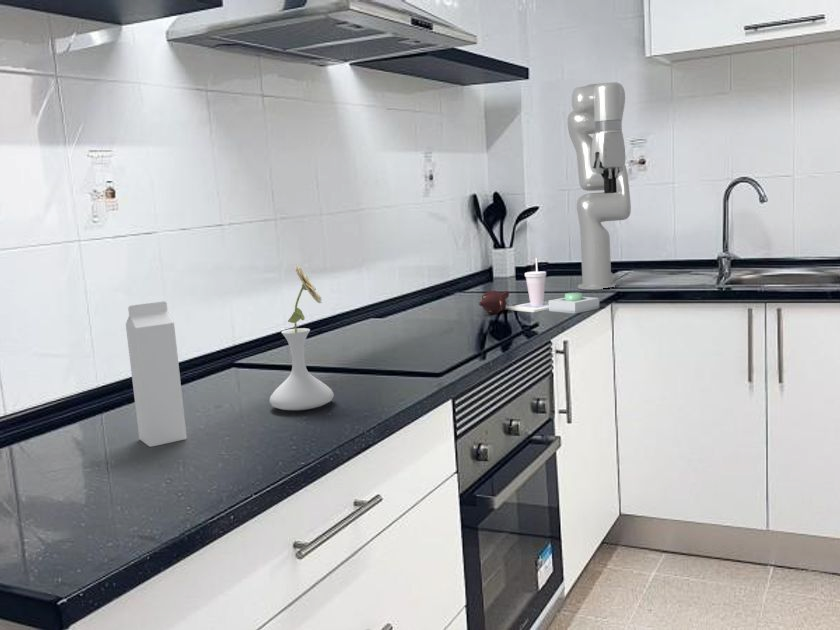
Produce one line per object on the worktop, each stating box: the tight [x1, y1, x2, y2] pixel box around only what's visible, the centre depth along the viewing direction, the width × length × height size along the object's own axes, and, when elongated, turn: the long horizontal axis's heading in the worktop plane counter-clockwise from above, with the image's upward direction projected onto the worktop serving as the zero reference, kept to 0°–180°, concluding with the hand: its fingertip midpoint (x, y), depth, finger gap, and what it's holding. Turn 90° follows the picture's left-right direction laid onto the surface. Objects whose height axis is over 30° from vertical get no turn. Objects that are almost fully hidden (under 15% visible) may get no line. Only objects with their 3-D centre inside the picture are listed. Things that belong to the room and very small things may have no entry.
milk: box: [125, 300, 188, 448], centre depth 134 cm, size 6×6×22 cm
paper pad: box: [505, 301, 549, 313], centre depth 250 cm, size 14×12×1 cm
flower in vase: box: [269, 265, 335, 411], centre depth 149 cm, size 13×11×25 cm
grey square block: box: [548, 296, 600, 315], centre depth 241 cm, size 10×10×3 cm
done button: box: [564, 292, 583, 301], centre depth 240 cm, size 5×5×4 cm
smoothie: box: [524, 257, 547, 306], centre depth 249 cm, size 6×6×14 cm
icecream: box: [478, 290, 510, 315], centre depth 244 cm, size 7×7×15 cm
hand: (610, 192), depth 244 cm, fingers closed
